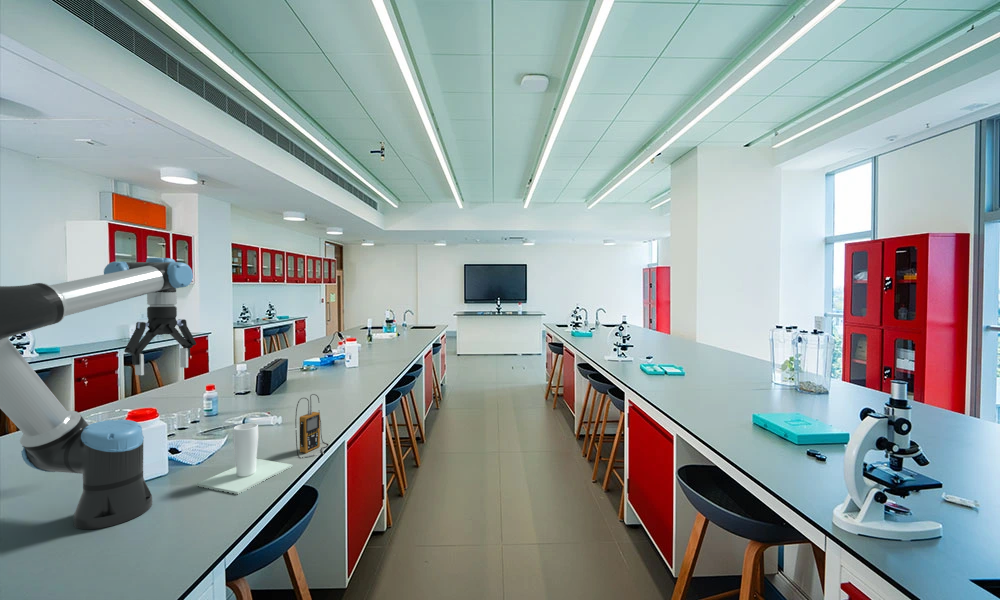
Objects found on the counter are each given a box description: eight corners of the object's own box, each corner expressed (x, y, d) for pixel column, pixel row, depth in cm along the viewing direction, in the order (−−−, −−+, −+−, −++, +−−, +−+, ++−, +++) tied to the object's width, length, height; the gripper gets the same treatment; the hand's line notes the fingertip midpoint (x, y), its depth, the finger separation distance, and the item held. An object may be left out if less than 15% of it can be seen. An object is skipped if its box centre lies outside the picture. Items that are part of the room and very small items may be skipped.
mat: (237, 494, 121) (237, 491, 121) (197, 486, 126) (197, 483, 126) (292, 467, 140) (292, 464, 140) (255, 460, 145) (255, 458, 145)
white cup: (263, 469, 136) (263, 423, 136) (249, 479, 129) (248, 430, 129) (243, 468, 137) (243, 422, 136) (228, 478, 130) (227, 429, 129)
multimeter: (314, 460, 146) (313, 402, 145) (291, 456, 149) (290, 400, 148) (343, 445, 159) (342, 392, 159) (321, 442, 163) (321, 390, 162)
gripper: (192, 304, 151) (193, 363, 151) (108, 307, 127) (109, 377, 128) (207, 304, 148) (208, 365, 149) (125, 307, 125) (126, 379, 125)
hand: (163, 371), depth 138 cm, fingers open, 13 cm apart
